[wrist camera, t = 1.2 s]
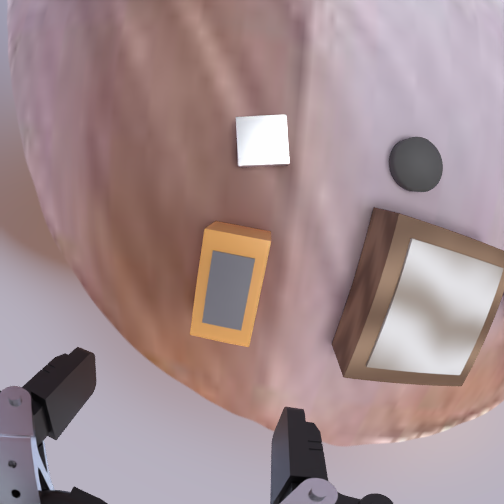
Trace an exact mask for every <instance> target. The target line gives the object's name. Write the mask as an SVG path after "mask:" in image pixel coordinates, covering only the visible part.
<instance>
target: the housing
mask: <svg viewBox="0 0 504 504" xmlns="http://www.w3.org/2000/svg"><path fill="white" fill-rule="evenodd" d="M270 244H271V232H270V231H265V230H260V229H255V228H250V227H245V226H239V225H234V224H229V223H224V222H218V221H215V222H214V223H212V224H211V225H209V226H208V227H206V228H205V230H204V236H203V243H202V249H201V256H200V263H199V270H198V277H197V284H196V291H195V299H194V306H193V314H192V322H191V330H190V335H193V336H198V337H202V338H207V339H211V340H216V341H221V342H225V343H230V344H235V345H240V346H246V347H249V344H250V340H251V335H252V331H253V326H254V321H255V317H256V312H257V307H258V302H259V298H260V293H261V288H262V283H263V278H264V274H265V269H266V264H267V259H268V254H269V249H270Z"/></svg>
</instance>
